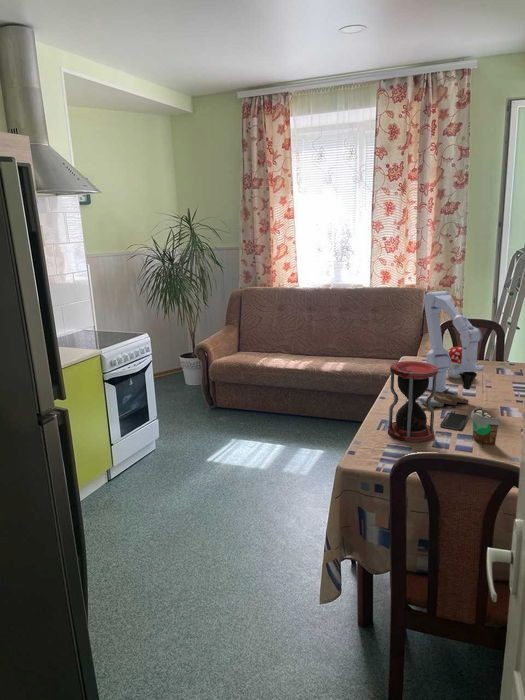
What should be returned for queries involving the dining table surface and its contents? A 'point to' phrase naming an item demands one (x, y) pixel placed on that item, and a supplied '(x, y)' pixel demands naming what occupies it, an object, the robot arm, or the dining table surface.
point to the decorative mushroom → (455, 360)
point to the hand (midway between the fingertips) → (466, 388)
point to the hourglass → (412, 401)
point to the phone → (454, 421)
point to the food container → (484, 426)
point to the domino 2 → (432, 402)
